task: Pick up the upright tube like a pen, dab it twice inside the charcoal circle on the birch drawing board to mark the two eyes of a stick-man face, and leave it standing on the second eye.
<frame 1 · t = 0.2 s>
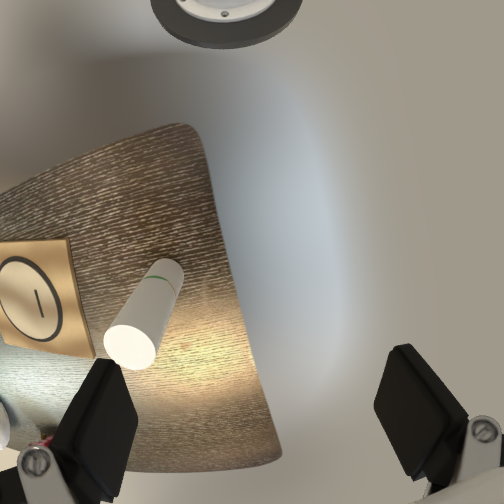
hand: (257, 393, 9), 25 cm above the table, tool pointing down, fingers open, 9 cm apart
tube: (167, 274, 35), on the table
drawing board: (30, 298, 34), on the table
flower: (58, 436, 45), on the table
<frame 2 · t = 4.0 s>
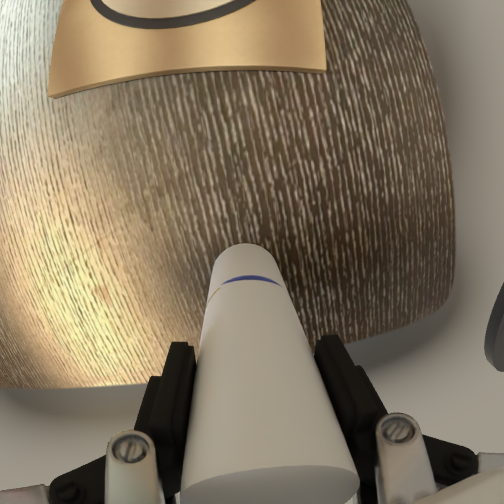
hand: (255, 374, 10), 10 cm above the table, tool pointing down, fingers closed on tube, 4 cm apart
tube: (245, 274, 19), on the table, touching gripper
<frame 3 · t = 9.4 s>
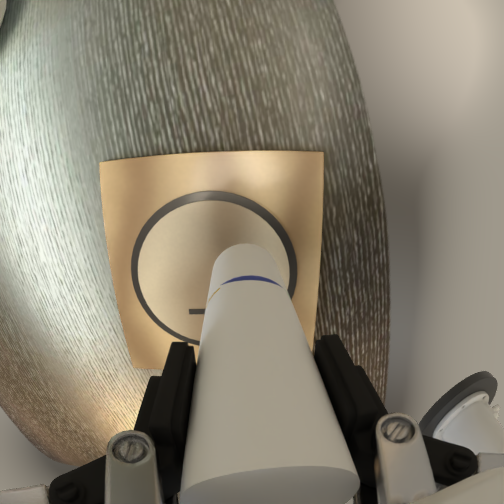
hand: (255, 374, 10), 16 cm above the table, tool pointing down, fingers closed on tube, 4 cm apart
tube: (245, 274, 19), point 6 cm above the table, touching gripper
drawing board: (213, 272, 25), on the table
when the fingers open (11 cm above the table, at t = 14.9 s): tube stays where it is, resting on drawing board.
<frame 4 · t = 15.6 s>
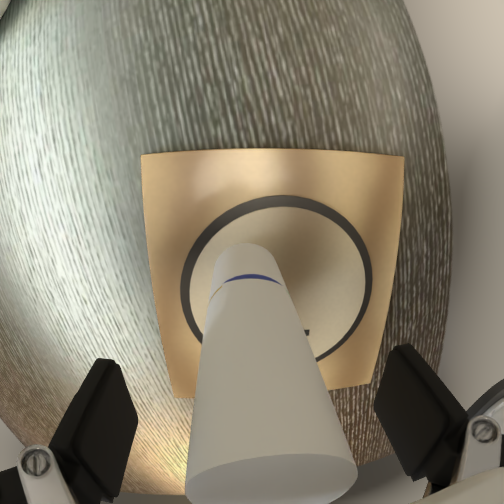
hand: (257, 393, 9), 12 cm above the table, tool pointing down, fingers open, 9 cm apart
tube: (245, 273, 20), point 1 cm above the table, touching drawing board
drawing board: (278, 289, 22), on the table
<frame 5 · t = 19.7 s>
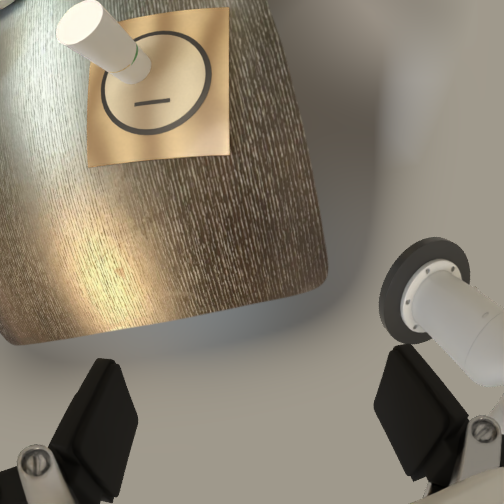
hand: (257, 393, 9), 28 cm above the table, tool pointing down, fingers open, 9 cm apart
tube: (134, 68, 28), point 1 cm above the table, touching drawing board
drawing board: (155, 82, 30), on the table
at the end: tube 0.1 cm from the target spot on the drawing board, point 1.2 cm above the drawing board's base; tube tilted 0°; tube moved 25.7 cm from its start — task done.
